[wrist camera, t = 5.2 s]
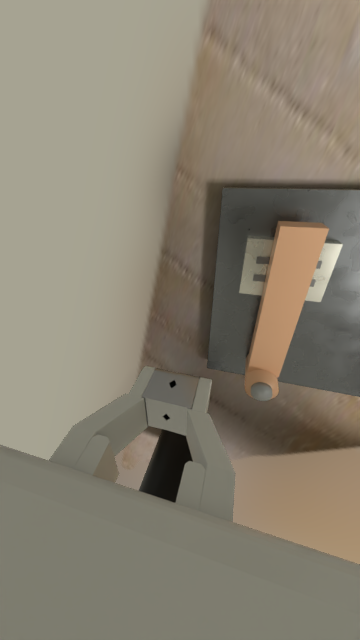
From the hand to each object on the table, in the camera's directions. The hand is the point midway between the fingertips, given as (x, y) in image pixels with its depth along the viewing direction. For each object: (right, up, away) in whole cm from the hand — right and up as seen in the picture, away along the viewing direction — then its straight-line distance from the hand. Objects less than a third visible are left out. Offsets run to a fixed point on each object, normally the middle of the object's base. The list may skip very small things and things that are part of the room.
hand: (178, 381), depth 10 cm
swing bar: (+9, +4, +12) cm, 16 cm away
